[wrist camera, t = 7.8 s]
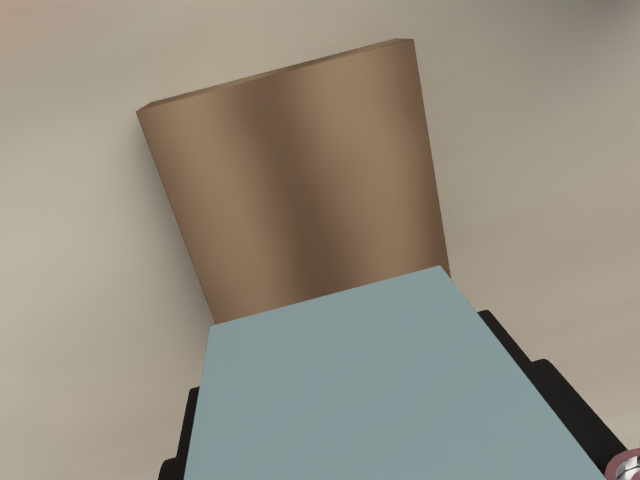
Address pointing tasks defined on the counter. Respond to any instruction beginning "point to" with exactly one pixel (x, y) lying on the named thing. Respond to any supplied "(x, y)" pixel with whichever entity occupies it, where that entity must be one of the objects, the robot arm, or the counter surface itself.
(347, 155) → the base
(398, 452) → the block
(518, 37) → the counter surface
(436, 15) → the counter surface
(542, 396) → the robot arm
